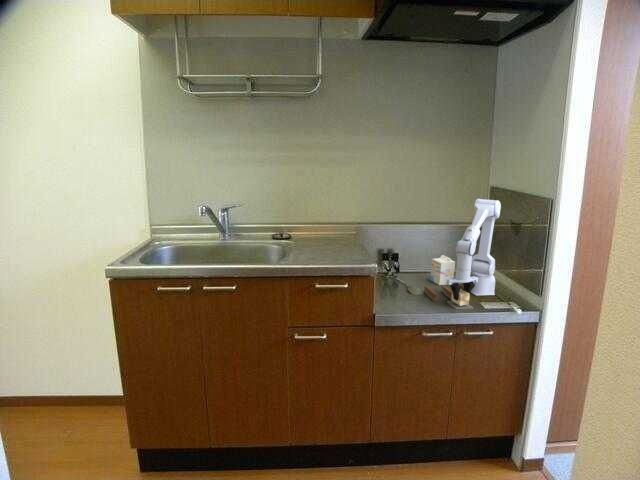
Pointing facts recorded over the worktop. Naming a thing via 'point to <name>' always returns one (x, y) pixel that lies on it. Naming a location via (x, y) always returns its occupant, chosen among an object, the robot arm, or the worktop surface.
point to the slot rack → (434, 295)
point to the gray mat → (459, 305)
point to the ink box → (442, 270)
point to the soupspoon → (413, 289)
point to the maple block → (462, 298)
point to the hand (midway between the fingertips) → (460, 299)
